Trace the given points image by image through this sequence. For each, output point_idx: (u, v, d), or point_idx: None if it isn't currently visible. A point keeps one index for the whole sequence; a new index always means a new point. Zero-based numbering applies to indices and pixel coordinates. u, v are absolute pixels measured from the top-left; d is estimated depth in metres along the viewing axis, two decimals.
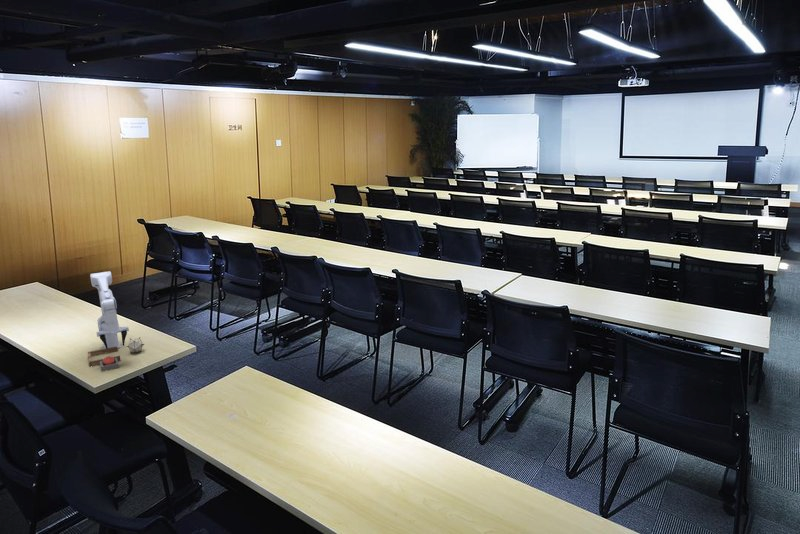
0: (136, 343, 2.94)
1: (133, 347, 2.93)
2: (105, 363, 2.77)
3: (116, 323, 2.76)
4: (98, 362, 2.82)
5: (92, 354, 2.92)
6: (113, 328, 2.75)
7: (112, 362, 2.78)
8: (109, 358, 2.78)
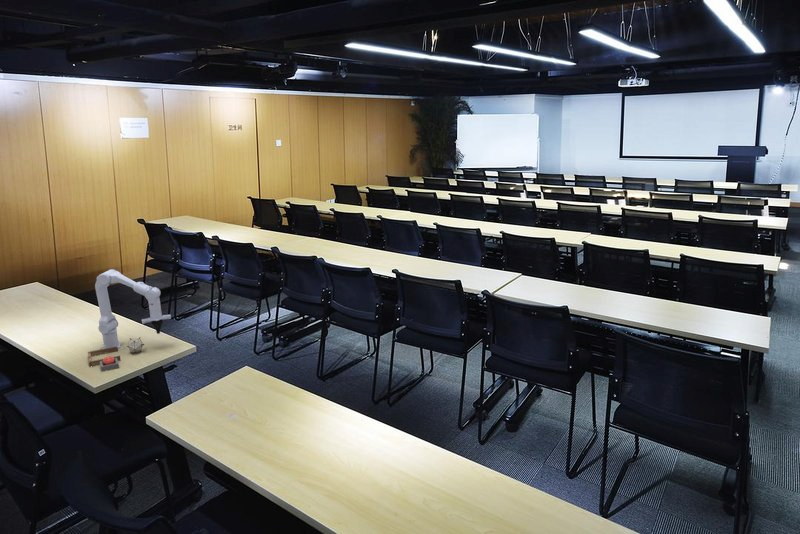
0: (136, 343, 2.94)
1: (133, 347, 2.93)
2: (105, 363, 2.77)
3: (160, 311, 2.98)
4: (98, 362, 2.82)
5: (92, 354, 2.92)
6: (157, 316, 2.96)
7: (112, 362, 2.78)
8: (109, 358, 2.78)
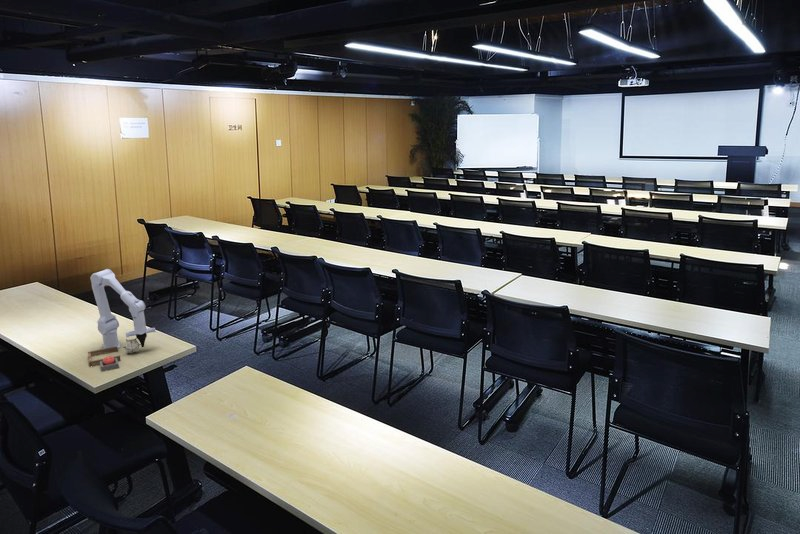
0: (133, 344, 2.93)
1: (130, 348, 2.92)
2: (105, 363, 2.77)
3: (144, 324, 2.95)
4: (98, 362, 2.82)
5: (92, 354, 2.92)
6: (141, 329, 2.94)
7: (112, 362, 2.78)
8: (109, 358, 2.78)
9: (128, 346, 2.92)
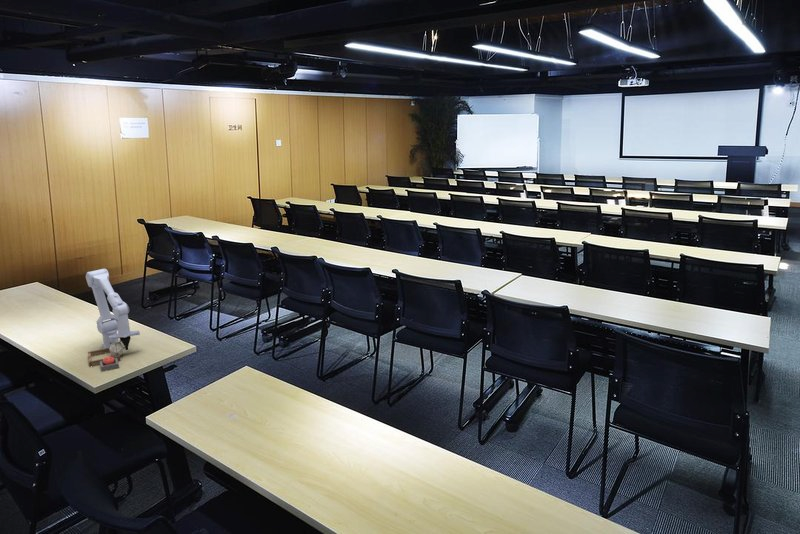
0: (118, 347, 2.89)
1: (115, 351, 2.88)
2: (105, 363, 2.77)
3: (128, 327, 2.91)
4: (98, 362, 2.82)
5: (92, 354, 2.92)
6: (125, 332, 2.90)
7: (112, 362, 2.78)
8: (109, 358, 2.78)
9: (113, 349, 2.88)
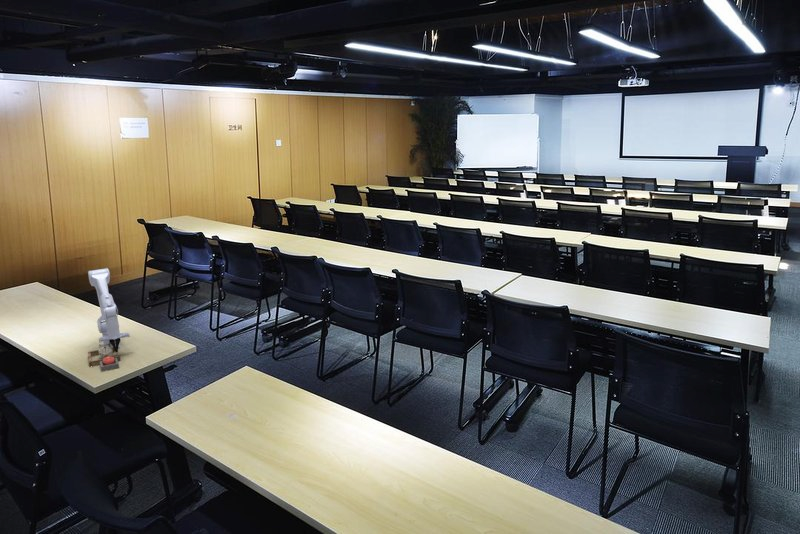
0: (107, 349, 2.87)
1: (104, 353, 2.86)
2: (105, 363, 2.77)
3: (117, 329, 2.88)
4: (98, 362, 2.82)
5: (92, 354, 2.92)
6: (115, 334, 2.87)
7: (112, 362, 2.78)
8: (109, 358, 2.78)
9: (102, 351, 2.86)
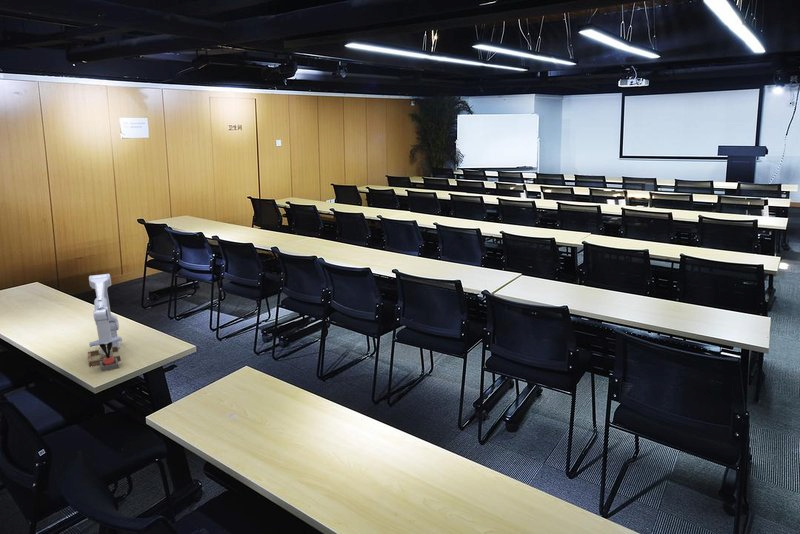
0: None
1: (104, 353, 2.86)
2: (105, 363, 2.77)
3: (109, 333, 2.75)
4: (98, 362, 2.82)
5: (92, 354, 2.92)
6: (106, 339, 2.73)
7: (112, 362, 2.78)
8: (109, 358, 2.78)
9: (102, 351, 2.86)
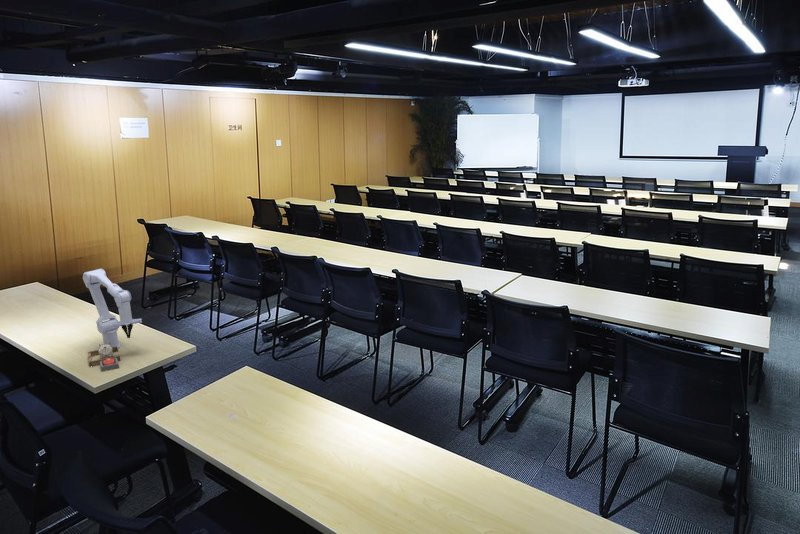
0: (107, 349, 2.87)
1: (104, 353, 2.86)
2: None
3: (130, 315, 2.89)
4: (98, 362, 2.82)
5: (92, 354, 2.92)
6: (127, 320, 2.88)
7: None
8: (109, 360, 2.78)
9: (102, 351, 2.86)
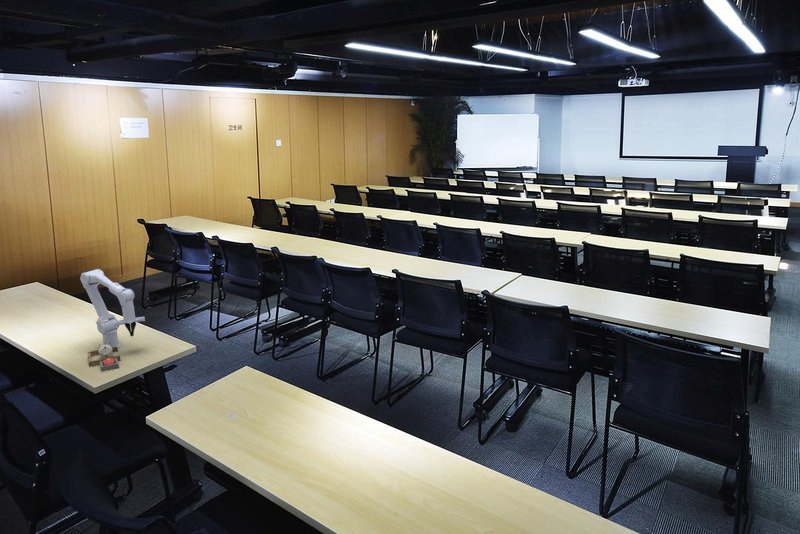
0: (107, 349, 2.87)
1: (104, 353, 2.86)
2: None
3: (133, 313, 2.92)
4: (98, 362, 2.82)
5: (92, 354, 2.92)
6: (130, 318, 2.91)
7: None
8: (109, 360, 2.78)
9: (102, 351, 2.86)
